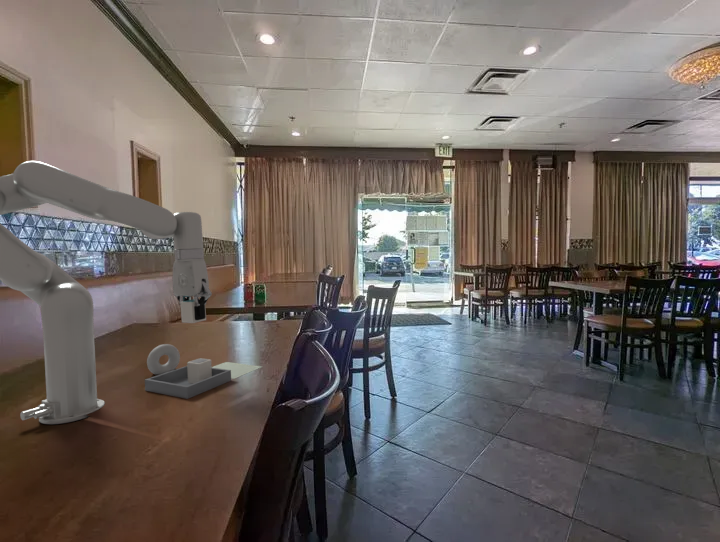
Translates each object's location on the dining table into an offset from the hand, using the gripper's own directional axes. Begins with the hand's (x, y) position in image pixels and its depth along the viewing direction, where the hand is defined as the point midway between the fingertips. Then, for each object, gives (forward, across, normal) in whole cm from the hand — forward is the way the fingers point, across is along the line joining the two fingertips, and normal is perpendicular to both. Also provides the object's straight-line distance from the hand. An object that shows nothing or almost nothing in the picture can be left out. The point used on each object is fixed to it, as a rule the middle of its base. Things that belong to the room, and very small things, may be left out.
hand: (193, 318), depth 105 cm
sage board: (+20, -1, +13) cm, 24 cm away
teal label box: (+1, 0, 0) cm, 1 cm away
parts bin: (+20, 0, -3) cm, 20 cm away
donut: (+20, -19, +3) cm, 28 cm away
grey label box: (+19, -1, +1) cm, 19 cm away
